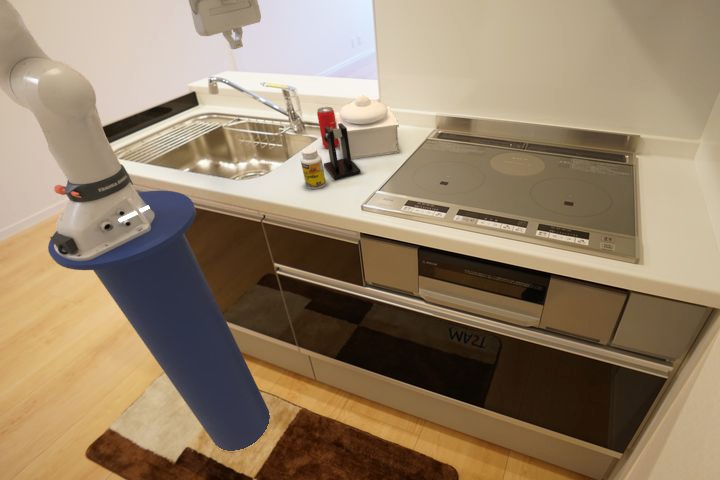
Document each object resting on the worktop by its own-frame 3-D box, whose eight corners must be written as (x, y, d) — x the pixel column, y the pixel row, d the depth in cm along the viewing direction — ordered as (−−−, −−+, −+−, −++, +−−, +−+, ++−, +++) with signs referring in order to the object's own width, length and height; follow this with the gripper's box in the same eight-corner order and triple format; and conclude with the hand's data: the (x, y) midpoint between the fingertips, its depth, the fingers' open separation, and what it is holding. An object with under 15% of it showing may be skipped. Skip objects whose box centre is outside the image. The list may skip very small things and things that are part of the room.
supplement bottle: (303, 189, 113) (295, 154, 107) (310, 179, 117) (303, 145, 111) (322, 190, 112) (315, 155, 106) (329, 180, 116) (322, 146, 110)
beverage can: (333, 141, 137) (327, 105, 130) (342, 146, 134) (336, 109, 126) (320, 146, 135) (313, 109, 127) (328, 151, 132) (322, 113, 124)
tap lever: (324, 145, 124) (321, 134, 123) (334, 142, 125) (331, 131, 124) (333, 140, 112) (330, 128, 112) (344, 137, 113) (341, 125, 112)
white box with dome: (338, 138, 139) (330, 89, 129) (390, 131, 141) (387, 82, 131) (342, 160, 126) (334, 107, 116) (400, 152, 128) (397, 100, 118)
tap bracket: (324, 167, 123) (316, 124, 115) (349, 160, 125) (343, 118, 117) (334, 180, 116) (326, 136, 108) (361, 173, 118) (355, 130, 110)
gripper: (195, -7, 95) (216, 58, 104) (257, -19, 109) (270, 40, 118) (177, -7, 98) (198, 56, 106) (239, -18, 111) (254, 39, 120)
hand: (237, 48), depth 112 cm, fingers closed
